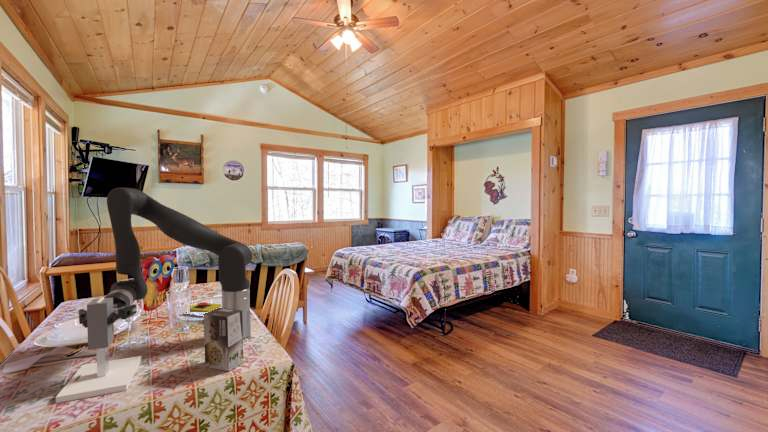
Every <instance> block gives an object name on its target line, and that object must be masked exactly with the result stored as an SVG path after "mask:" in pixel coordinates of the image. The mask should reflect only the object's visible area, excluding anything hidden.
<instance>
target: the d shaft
mask: <svg viewBox="0 0 768 432" xmlns="http://www.w3.org/2000/svg"><path fill="white" fill-rule="evenodd" d="M95 350H96V363H97V378H98V377H104V376H106V375H107V373H108V372H109V361H110V355H109V347H107V348H99V349H95Z"/></svg>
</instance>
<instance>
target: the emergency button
mask: <svg viewBox="0 0 768 432" xmlns="http://www.w3.org/2000/svg"><path fill="white" fill-rule="evenodd" d="M189 307H190V312H209V311H211V310H213V309H216V308H219V307H222V303H221V304H220V303H219V304H218V303H213V302H212V303H209V302H207V301H206V302H205V301H204V302H198V303H195V304H193V305H191V306H189Z"/></svg>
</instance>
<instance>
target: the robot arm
mask: <svg viewBox="0 0 768 432" xmlns="http://www.w3.org/2000/svg"><path fill="white" fill-rule="evenodd" d="M106 206H107V207H106V208H107V211H108V214H109V215H108V216H109V220H110V224H111V229H112V234H113V239H114V246H115V248H114V249H115V271H116V273H117V274H118V275H123V276H130V277H132V279H131V280H121V281H120V280H119V281H116V282H114V283H113V284H112V285H111V287H110V292H109V293H107V294H106V295H105V296H104V297H103V298H112V297H113V313H111V314H110V315H109V316H108V318H107V325H111V324H112V323H114V324H115V323H116V322H117V321H119V319H121V320H126V319H128V318H130V317H132V316H134V315H135V314H137V312H138V311H137V304H133V303H134V302H136V301H140V300H143V299H145V297H146V296H147V294H148V292H149V291H148V285H147V283H146V280H145V278H144V274H143V271H142V265H141V263H142V262H141V260H142V259H141V257H142V256H141V255H142V254H141V249H140V244H139V242H138V239H137V237H136V236H135V232H134V231H133V229H134V228H133V225H132V215H135V216H137V217H140V218H142V219H145V220H147V221H150V222H151V223H153V225H155V226H157V228H158V229H159V230H160V231H161V232H162V233H163V234H164V235H165V236H167V237H168V238H170V239H171V240H173V241H176V242H178V243H181V244H183V245H185V246H187V247H191V248H195V249H199V250H204V251H208V252H210V253H212V254H215V255H217V256H218V257H217V259H218V260H217V261H218V262H217V265H218V266H217V267H218V280H219V284H220V285H221V307H222V308H227V309H235V310H242V318H243V339H245V338H250V337H251V335H252V333H251V332H252V331H251V329H252V328H251V306H250V305H251V304H250V303H251V301H250V300H251V299H250V297H251V296H250V295H251V294H250V293H251V291H250V287H251V286H250V285H251V283H250V280H249V279H248V277H247V271H246V268H247V266H248V265H249V264H250V263H251V262H252V260H253V252H252V250H251V249H250V247H249V246H248V245H247V244H245V243H243V242H240V241H237V240H235V239H232V238H229V237H227V236H224V235H222V234H221V233H220V232H217V231H215V230H213V229H211V228H210V227H208V226H207V225H205V224H204V223H201V222H199V221H197V220H196V219H194V218H192V217H190V216H188V215H185V214H184V213H181V212H180V211H177V210H175V209H173V208H171V207H168V206H166V205H164V204H163V203H161V202H158V201H157V200H156V199H154V198H153V197H151V196H149V195H148V194H147V193H145V192H144V191H141V190H140V189H137V188H130V187H115V188H113V189H111V190H110V191H109V192H108V194H107V196H106ZM78 323H79V324H80V325H82V327H84V328H87V309H83V308H81V309H78ZM87 329H88V328H87Z"/></svg>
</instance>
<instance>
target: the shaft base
mask: <svg viewBox="0 0 768 432" xmlns="http://www.w3.org/2000/svg"><path fill="white" fill-rule="evenodd" d="M141 362H142V355H137V356H131V357H125V358H118V359H111V360H110V359H109V372H108V373H107V375H106V376H104V377H98V378H97V362H93V363H92V362H90V363H85V364H82V365H81V366H80V368H79V369H78V370H77V371H76V373H75V374H74V375H73V376H72V377H71V378H70V379H69V381H68V382H67V383H66V384H65V385H64V387H63V388H62V389H61V390H60V391H59V392H58V394H57V395H56V396H55V404H59V403H65V402H70V401H71V402H72V401H75V400H81V399H86V398H92V397H98V396H103V395H107V394H108V395H109V394H114V393H118V392H124V391H125V392H126V391H127V390H128V388H129V386H130V384H131V382H132V380H133V378H134V376H135V374H136V372H137V370H138V368H139V366H140V364H141Z"/></svg>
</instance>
